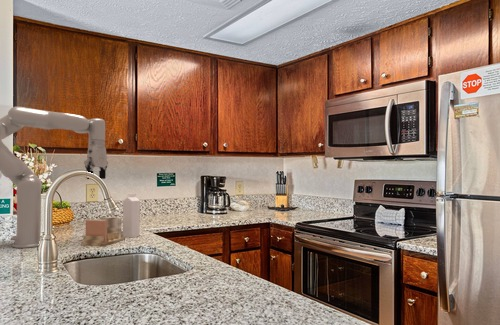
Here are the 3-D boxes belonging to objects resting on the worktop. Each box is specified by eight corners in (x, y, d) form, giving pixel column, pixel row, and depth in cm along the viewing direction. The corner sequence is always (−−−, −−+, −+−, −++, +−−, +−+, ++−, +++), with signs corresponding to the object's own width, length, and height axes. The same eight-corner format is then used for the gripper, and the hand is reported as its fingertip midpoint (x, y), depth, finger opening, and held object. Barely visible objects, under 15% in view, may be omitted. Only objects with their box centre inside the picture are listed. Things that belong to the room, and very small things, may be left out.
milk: (122, 237, 201) (122, 194, 201) (131, 235, 206) (131, 193, 207) (131, 238, 198) (131, 194, 199) (139, 236, 204) (140, 194, 204)
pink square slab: (85, 241, 180) (85, 220, 180) (88, 241, 182) (88, 219, 182) (104, 242, 178) (104, 221, 178) (107, 242, 180) (107, 220, 180)
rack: (80, 245, 178) (81, 220, 179) (103, 238, 196) (104, 216, 196) (103, 246, 176) (104, 221, 176) (125, 239, 193) (125, 217, 193)
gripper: (92, 142, 181) (91, 179, 180) (113, 145, 198) (113, 178, 197) (78, 142, 183) (77, 179, 182) (100, 145, 199) (100, 178, 199)
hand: (96, 178), depth 190 cm, fingers open, 9 cm apart
